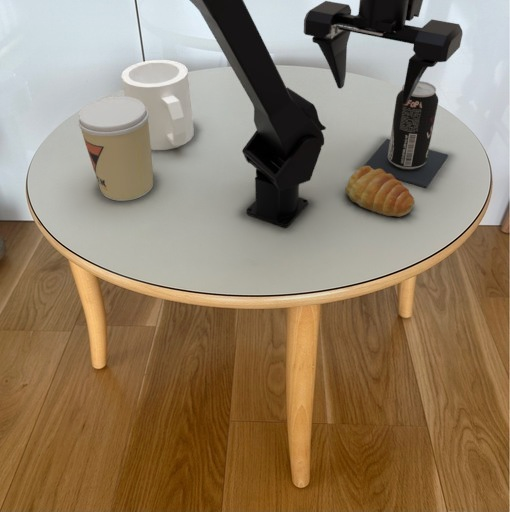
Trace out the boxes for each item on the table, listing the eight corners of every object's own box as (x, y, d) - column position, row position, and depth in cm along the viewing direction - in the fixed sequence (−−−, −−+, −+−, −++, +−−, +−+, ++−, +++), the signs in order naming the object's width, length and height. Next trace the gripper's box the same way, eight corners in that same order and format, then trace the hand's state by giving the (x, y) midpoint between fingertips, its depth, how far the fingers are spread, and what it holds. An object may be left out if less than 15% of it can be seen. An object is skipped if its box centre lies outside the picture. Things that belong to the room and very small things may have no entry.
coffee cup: (92, 175, 87) (73, 101, 79) (153, 164, 89) (141, 90, 81) (98, 209, 80) (79, 132, 72) (164, 197, 82) (153, 120, 74)
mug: (214, 147, 92) (209, 84, 85) (155, 166, 88) (145, 101, 81) (178, 114, 101) (170, 54, 94) (123, 130, 97) (111, 69, 90)
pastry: (423, 205, 79) (427, 182, 76) (394, 227, 76) (398, 204, 73) (368, 179, 84) (370, 156, 82) (338, 198, 81) (340, 176, 78)
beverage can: (412, 149, 90) (425, 75, 82) (433, 167, 85) (449, 92, 78) (379, 157, 88) (390, 82, 80) (399, 176, 84) (412, 99, 76)
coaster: (426, 188, 82) (426, 186, 82) (361, 169, 86) (361, 167, 86) (447, 156, 88) (448, 154, 88) (386, 140, 92) (386, 138, 92)
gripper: (489, -39, 67) (460, 87, 77) (345, -57, 75) (336, 60, 85) (459, -14, 60) (432, 121, 70) (303, -37, 68) (299, 88, 78)
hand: (372, 95), depth 76 cm, fingers open, 9 cm apart
